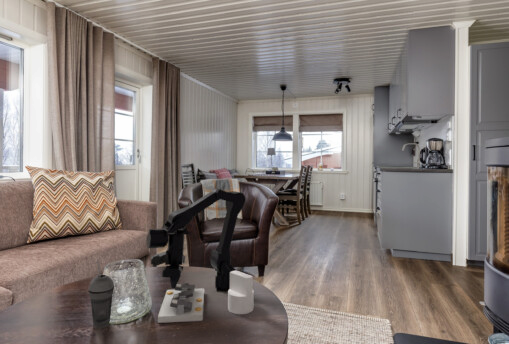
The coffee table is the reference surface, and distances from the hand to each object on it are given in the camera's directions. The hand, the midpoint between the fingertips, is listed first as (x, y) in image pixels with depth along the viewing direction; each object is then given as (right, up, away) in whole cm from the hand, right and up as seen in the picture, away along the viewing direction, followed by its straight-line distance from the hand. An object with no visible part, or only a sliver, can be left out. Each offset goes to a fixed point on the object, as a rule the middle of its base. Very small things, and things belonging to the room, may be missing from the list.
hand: (173, 287), depth 118 cm
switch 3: (+6, -1, -13) cm, 14 cm away
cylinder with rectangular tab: (+25, -5, -6) cm, 27 cm away
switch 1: (+4, 0, +1) cm, 4 cm away
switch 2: (+5, 0, -6) cm, 8 cm away
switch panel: (+5, -4, -6) cm, 9 cm away
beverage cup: (-17, -5, -19) cm, 26 cm away
